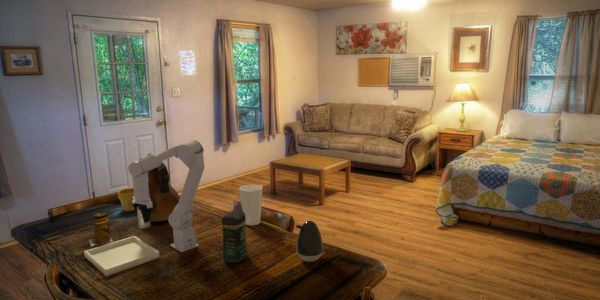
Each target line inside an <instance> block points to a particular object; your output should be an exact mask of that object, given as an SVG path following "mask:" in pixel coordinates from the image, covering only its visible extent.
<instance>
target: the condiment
mask: <svg viewBox="0 0 600 300" xmlns="http://www.w3.org/2000/svg"><path fill="white" fill-rule="evenodd" d="M92 219H93V221H92V225H93V226H92V227H93V233H94V235H93V236H94V238H91V239H88V243H89V245H90V247H96V246H99V245H106V244H109V243H112V242H114V240H113V239H112V237H111V236H112V235H111V230H110V229H111V228H110V222H109V218H108V213H107V212H97V213H95V214H93V218H92ZM95 243H97V244H95ZM98 244H99V245H98Z"/></svg>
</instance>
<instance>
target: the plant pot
mask: <svg viewBox="0 0 600 300" xmlns="http://www.w3.org/2000/svg"><path fill="white" fill-rule="evenodd" d="M133 196H134V188H133V187H132V188H131V187H129V188H123V189H120V190H119V191H118V192H117V198H118V200H120V203H121V208H122V210H123V211H124V212H131V211H135V209H134V207H133V206H132V204H133V203H132V201H133Z"/></svg>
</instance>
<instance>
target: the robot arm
mask: <svg viewBox="0 0 600 300" xmlns="http://www.w3.org/2000/svg"><path fill="white" fill-rule="evenodd" d="M204 152H205V149H204V147H203V145H202V144H201V142H199V141H198V140H190V141H187V142H183V143H180V144H177V145H174V146H171V147H170V148H168V149H166V150H164V151H162V152H160V153H157V152H149V153H147V155H145V156H144V157H139V158H138V160H136V161H132V162H131V163H129V165H128V168H127V170H128V173H129V174H130V175H131V177H132V186H133V187H132V188H134V196H133V201H132V203H133V204H132V206H133V207H134V209H135V210H134V211H135V212H136V215H137V217H138V211H137V206H138V205H141V204H143V206H142V207H139V209H140V211H141V213H142V217H143V221H144V223H146V222H150V216H151V212H152V209H153V208H154V206H153V205H152V202H151V200H150V198H149V189H148V171H150V170H152V169H154V168H156V167H159V166H160V165H161V163H162V162H164V161H166V160H168V159H171V158H173V157H175V158H176V159H178V158H179V160H180V161H181V162H182V163H183V164H184V165H185V166H186V167H187V168H188V172H187V175H186V179H185V181H184V185H183V188H182V189H181V190H182V192H181V194H180V195H179V197H180V199H179V203H178V204H177V206H176V207H175V208H174V210H173V212H172V214H170V216H169V218H168V220H167V221H168V224H169V225H170V226H171V228H172V234H173V243H171V244H169V246H170V247H172V248H173V249H175V250H177V251H179V252H180V253H184V252H186V251H189V250H191V249H195V248H197V247H199V244H198V243H197V235H196V234H197V233H196V230H195V229H193V227H192V220H193V218H194V208H195V206H194V205H193V204H194V203H193V202H194V200H195V198H196V195H197V194H196V193H197V191H198V188H199V185H200V182H201V180H202V176H203V174H204V171H205V159H204ZM150 223H151V222H150Z"/></svg>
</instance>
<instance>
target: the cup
mask: <svg viewBox="0 0 600 300" xmlns="http://www.w3.org/2000/svg"><path fill="white" fill-rule="evenodd" d="M238 191H239V196H240V203H241V210H242V211H243V212H244V213H245V218H246V223H245V226H246V225H247V226H256V225H260V223H261V215H262V204H263V203H262V199H263V185H260V184H254V183H253V184H246V185H241V186H240V187H239V189H238Z"/></svg>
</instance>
